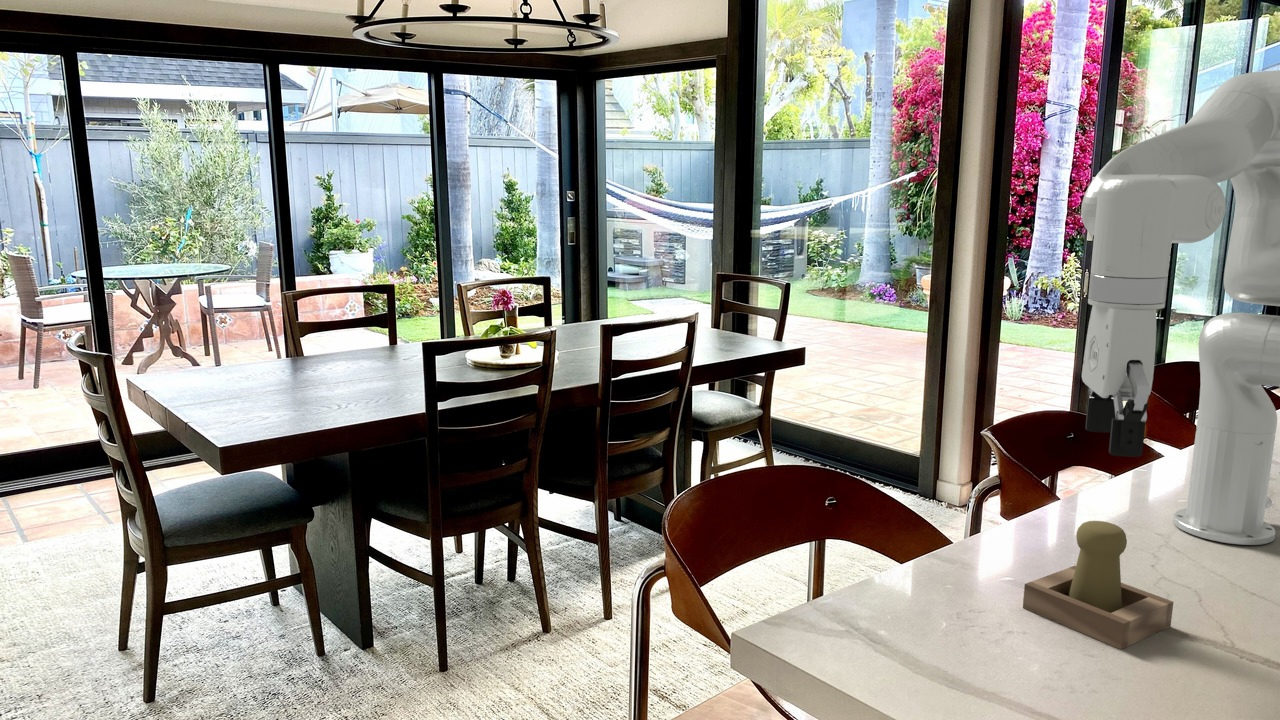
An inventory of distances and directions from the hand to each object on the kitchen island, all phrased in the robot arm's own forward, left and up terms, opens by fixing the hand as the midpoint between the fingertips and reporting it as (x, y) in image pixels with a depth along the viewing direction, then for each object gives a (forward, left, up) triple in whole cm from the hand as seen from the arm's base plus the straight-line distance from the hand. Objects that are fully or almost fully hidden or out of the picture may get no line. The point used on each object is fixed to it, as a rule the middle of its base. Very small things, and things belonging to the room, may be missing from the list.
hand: (1112, 443), depth 106 cm
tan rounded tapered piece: (0, 0, -21) cm, 21 cm away
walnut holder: (+1, +1, -21) cm, 21 cm away
